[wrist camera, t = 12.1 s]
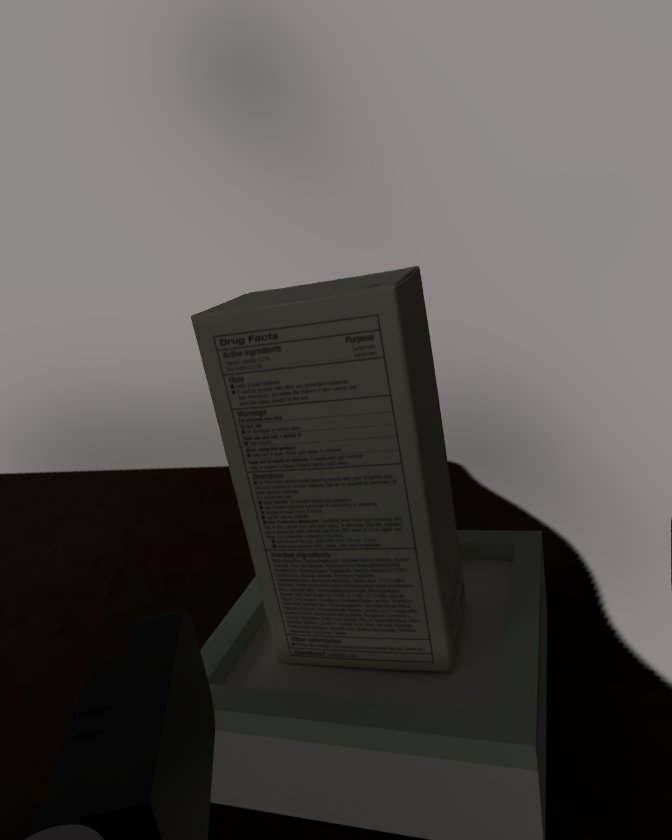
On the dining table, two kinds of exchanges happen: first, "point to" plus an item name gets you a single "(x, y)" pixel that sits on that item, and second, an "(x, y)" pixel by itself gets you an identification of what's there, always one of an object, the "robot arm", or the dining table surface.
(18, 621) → the dining table surface
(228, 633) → the shallow open tray
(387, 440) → the skincare box
